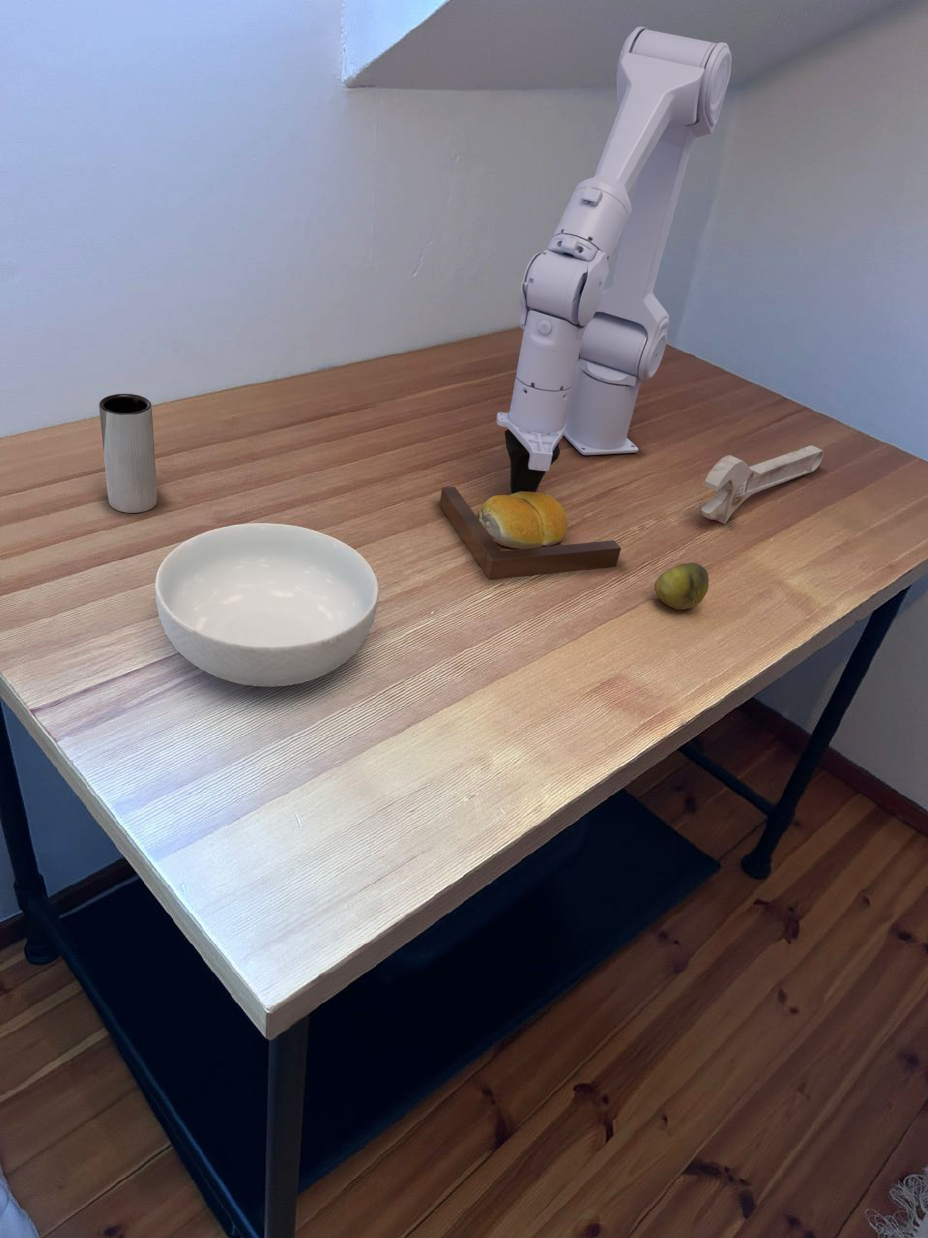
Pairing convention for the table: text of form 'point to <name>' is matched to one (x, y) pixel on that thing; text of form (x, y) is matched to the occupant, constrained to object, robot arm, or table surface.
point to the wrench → (753, 479)
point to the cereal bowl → (266, 602)
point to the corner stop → (521, 559)
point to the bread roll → (524, 520)
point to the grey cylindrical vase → (129, 452)
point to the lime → (682, 585)
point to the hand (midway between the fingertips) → (520, 499)
